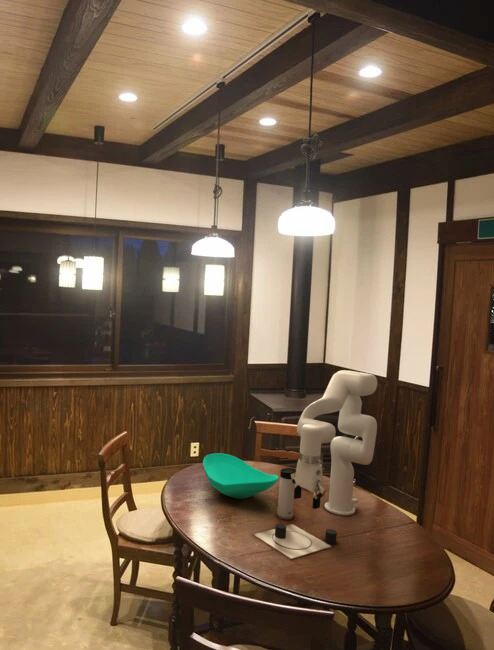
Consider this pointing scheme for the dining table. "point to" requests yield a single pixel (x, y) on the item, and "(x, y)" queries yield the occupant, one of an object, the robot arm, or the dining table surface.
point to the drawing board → (293, 542)
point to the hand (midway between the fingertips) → (306, 503)
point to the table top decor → (236, 476)
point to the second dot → (330, 536)
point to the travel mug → (286, 494)
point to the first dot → (280, 531)
